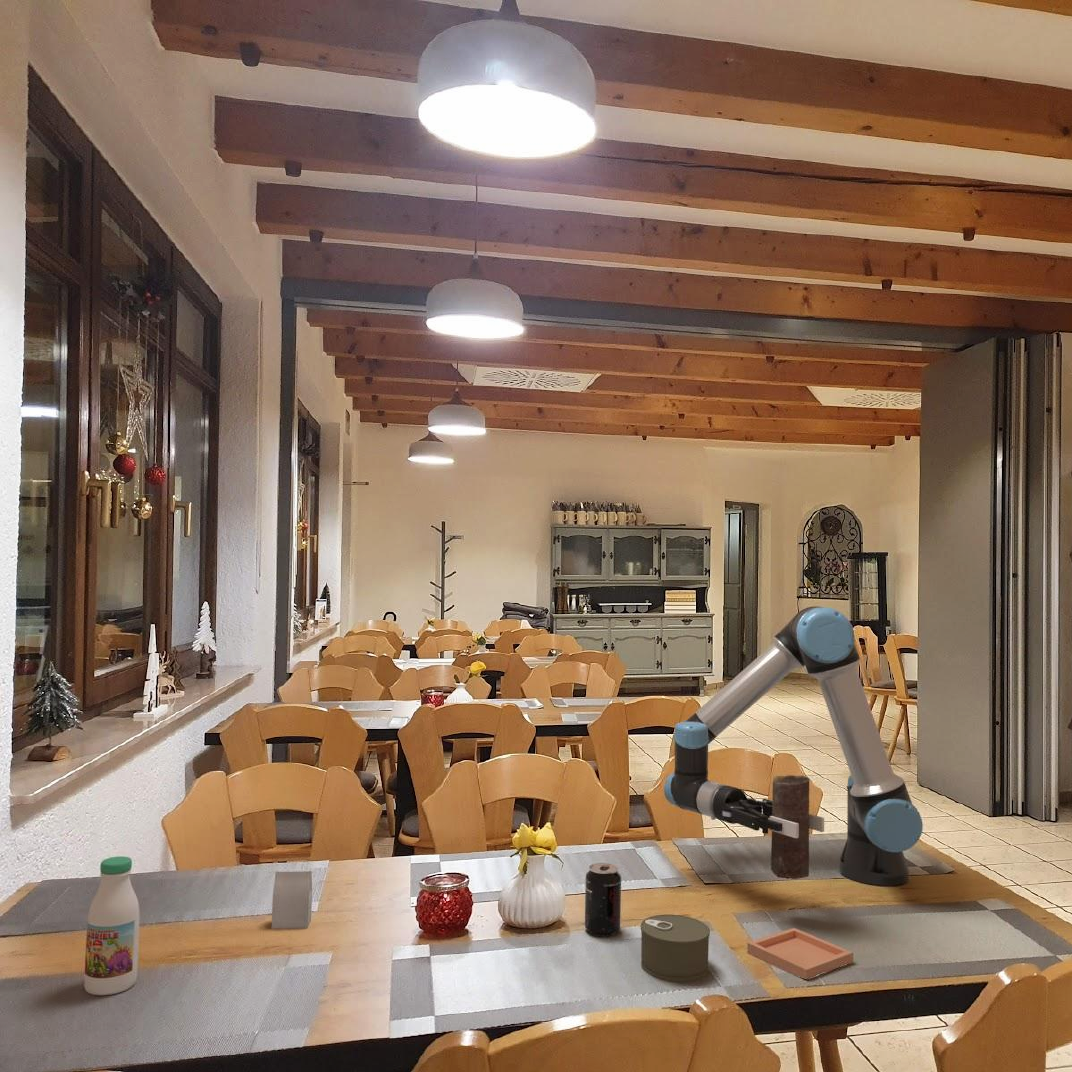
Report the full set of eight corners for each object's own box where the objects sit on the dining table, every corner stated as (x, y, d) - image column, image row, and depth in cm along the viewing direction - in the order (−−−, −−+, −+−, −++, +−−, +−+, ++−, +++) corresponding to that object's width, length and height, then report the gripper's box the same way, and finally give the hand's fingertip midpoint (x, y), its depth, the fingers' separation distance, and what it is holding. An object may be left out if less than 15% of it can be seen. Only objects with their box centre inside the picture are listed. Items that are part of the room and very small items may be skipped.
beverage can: (625, 928, 169) (626, 865, 170) (613, 941, 163) (614, 876, 163) (592, 921, 172) (593, 860, 173) (579, 934, 166) (580, 870, 166)
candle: (811, 885, 170) (811, 782, 171) (772, 882, 172) (772, 779, 173) (807, 873, 178) (807, 773, 179) (769, 870, 179) (770, 771, 180)
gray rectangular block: (307, 928, 166) (309, 874, 166) (271, 928, 165) (273, 875, 166) (311, 920, 169) (312, 868, 170) (275, 921, 169) (277, 868, 169)
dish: (793, 937, 167) (793, 927, 167) (852, 962, 156) (853, 952, 156) (747, 952, 159) (747, 942, 159) (806, 980, 149) (806, 969, 149)
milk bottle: (95, 975, 145) (101, 852, 146) (144, 974, 145) (149, 852, 146) (75, 997, 137) (81, 867, 138) (126, 996, 138) (132, 867, 139)
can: (694, 989, 145) (694, 947, 145) (628, 971, 151) (629, 930, 151) (719, 963, 155) (719, 924, 155) (656, 947, 161) (657, 909, 161)
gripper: (754, 813, 196) (842, 839, 177) (689, 826, 184) (776, 856, 165) (754, 779, 196) (842, 801, 177) (689, 790, 184) (776, 815, 166)
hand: (810, 827), depth 171 cm, fingers closed on candle, 7 cm apart
